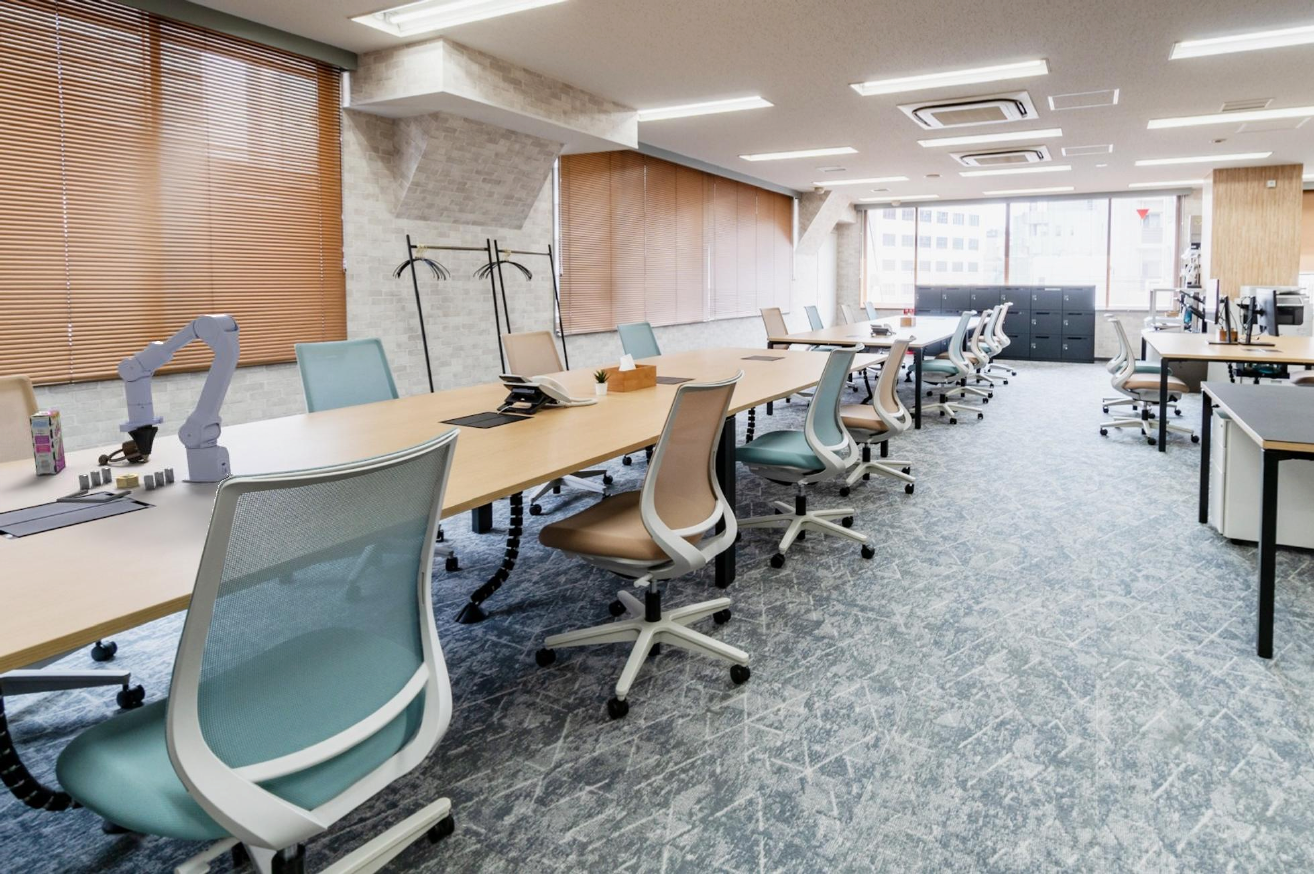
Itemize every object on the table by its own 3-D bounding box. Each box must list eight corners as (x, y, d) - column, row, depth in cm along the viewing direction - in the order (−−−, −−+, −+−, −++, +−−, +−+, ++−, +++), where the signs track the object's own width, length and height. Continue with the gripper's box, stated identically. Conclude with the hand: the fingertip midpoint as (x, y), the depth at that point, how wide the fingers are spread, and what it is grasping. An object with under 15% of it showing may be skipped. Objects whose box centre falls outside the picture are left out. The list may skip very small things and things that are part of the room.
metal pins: (176, 481, 217) (174, 468, 216) (151, 490, 207) (149, 476, 206) (106, 480, 218) (104, 467, 217) (78, 489, 208) (76, 476, 207)
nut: (139, 482, 216) (138, 473, 215) (137, 486, 211) (136, 477, 211) (119, 484, 214) (117, 475, 213) (116, 488, 209) (115, 479, 208)
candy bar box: (58, 474, 225) (50, 415, 222) (36, 476, 223) (27, 416, 220) (67, 466, 235) (59, 409, 232) (46, 468, 233) (38, 410, 230)
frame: (130, 492, 205) (130, 490, 204) (105, 502, 196) (104, 499, 196) (84, 492, 205) (84, 489, 205) (56, 501, 196) (56, 499, 196)
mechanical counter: (135, 448, 234) (155, 434, 243) (89, 444, 234) (111, 430, 243) (139, 471, 237) (158, 456, 246) (94, 467, 236) (115, 452, 246)
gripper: (143, 399, 224) (149, 449, 226) (105, 407, 210) (112, 459, 212) (168, 400, 223) (174, 449, 226) (132, 407, 209) (138, 460, 212)
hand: (145, 454), depth 219 cm, fingers closed
